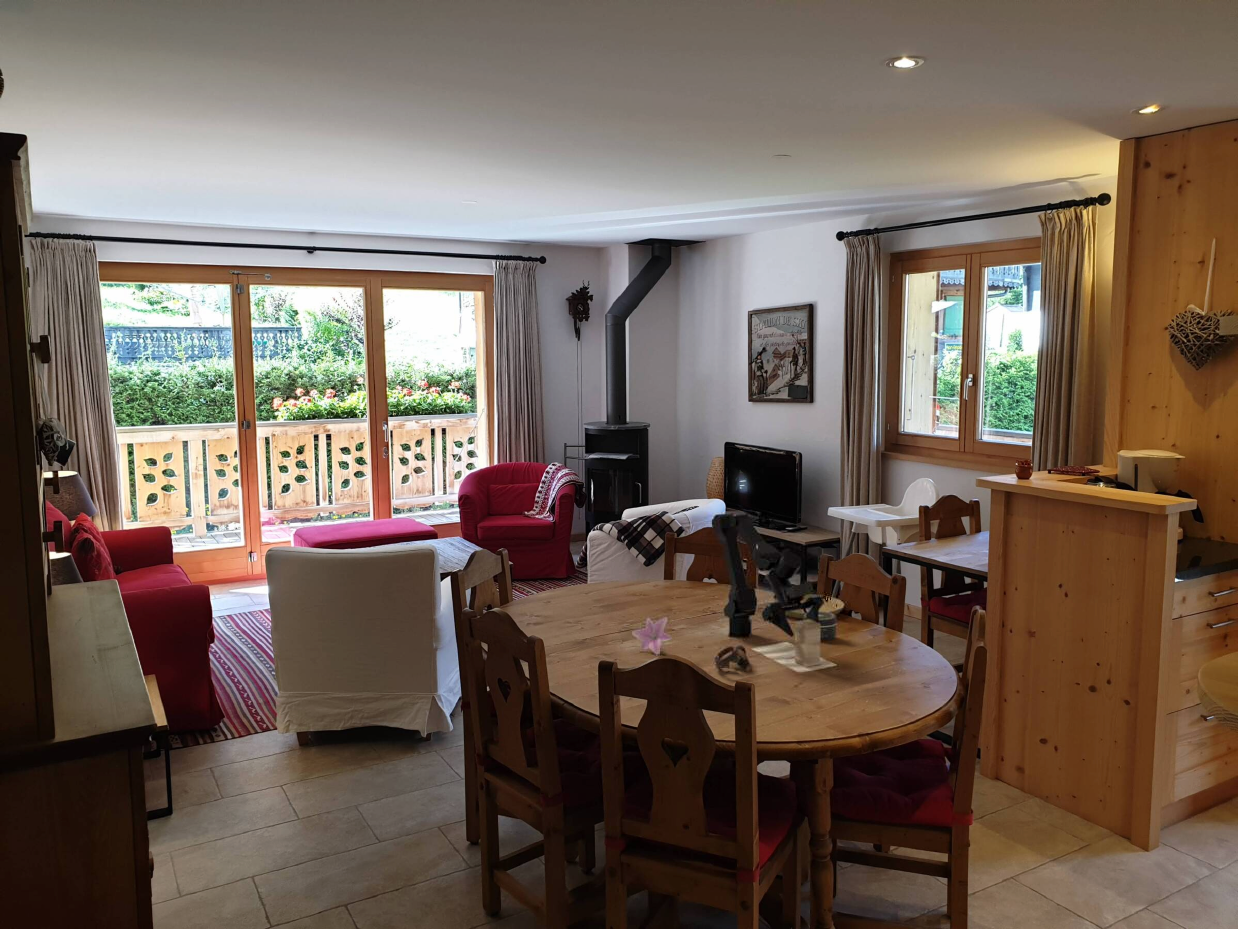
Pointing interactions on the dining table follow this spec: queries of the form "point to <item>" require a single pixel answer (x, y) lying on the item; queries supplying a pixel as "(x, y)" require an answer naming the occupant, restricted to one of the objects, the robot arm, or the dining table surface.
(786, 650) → the birch board
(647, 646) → the lily
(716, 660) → the brown looped strap
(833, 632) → the jar
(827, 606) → the plant saucer
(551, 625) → the dining table surface
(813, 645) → the beige tall block
